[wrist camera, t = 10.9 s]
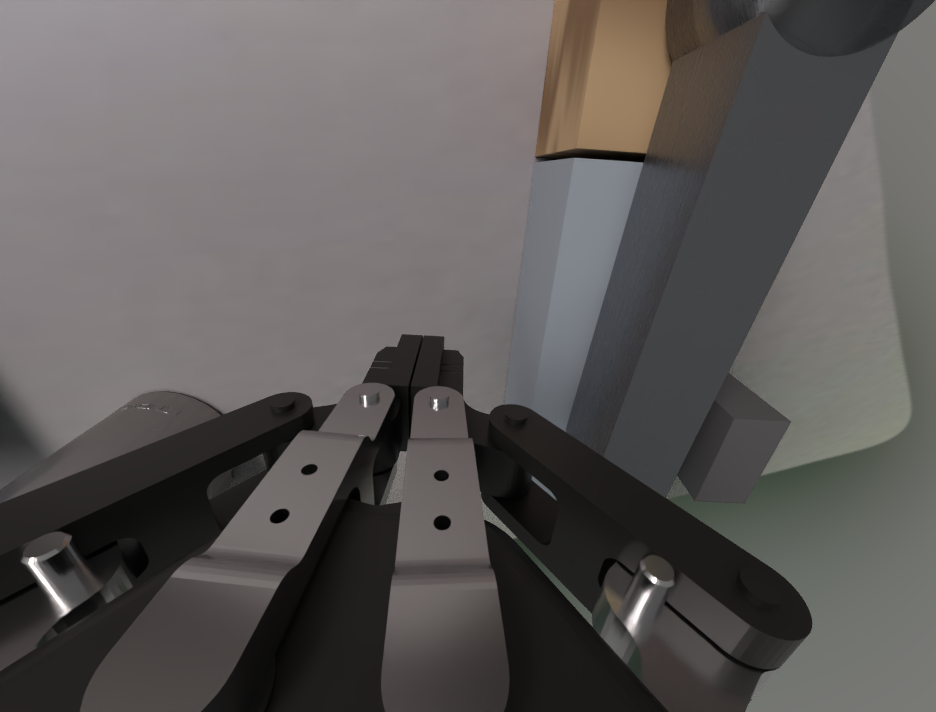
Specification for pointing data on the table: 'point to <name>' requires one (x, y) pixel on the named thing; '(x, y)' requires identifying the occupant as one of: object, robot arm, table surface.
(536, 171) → the blue-gray rectangular box
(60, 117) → the table surface
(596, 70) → the wooden square block
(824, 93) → the lock bar
